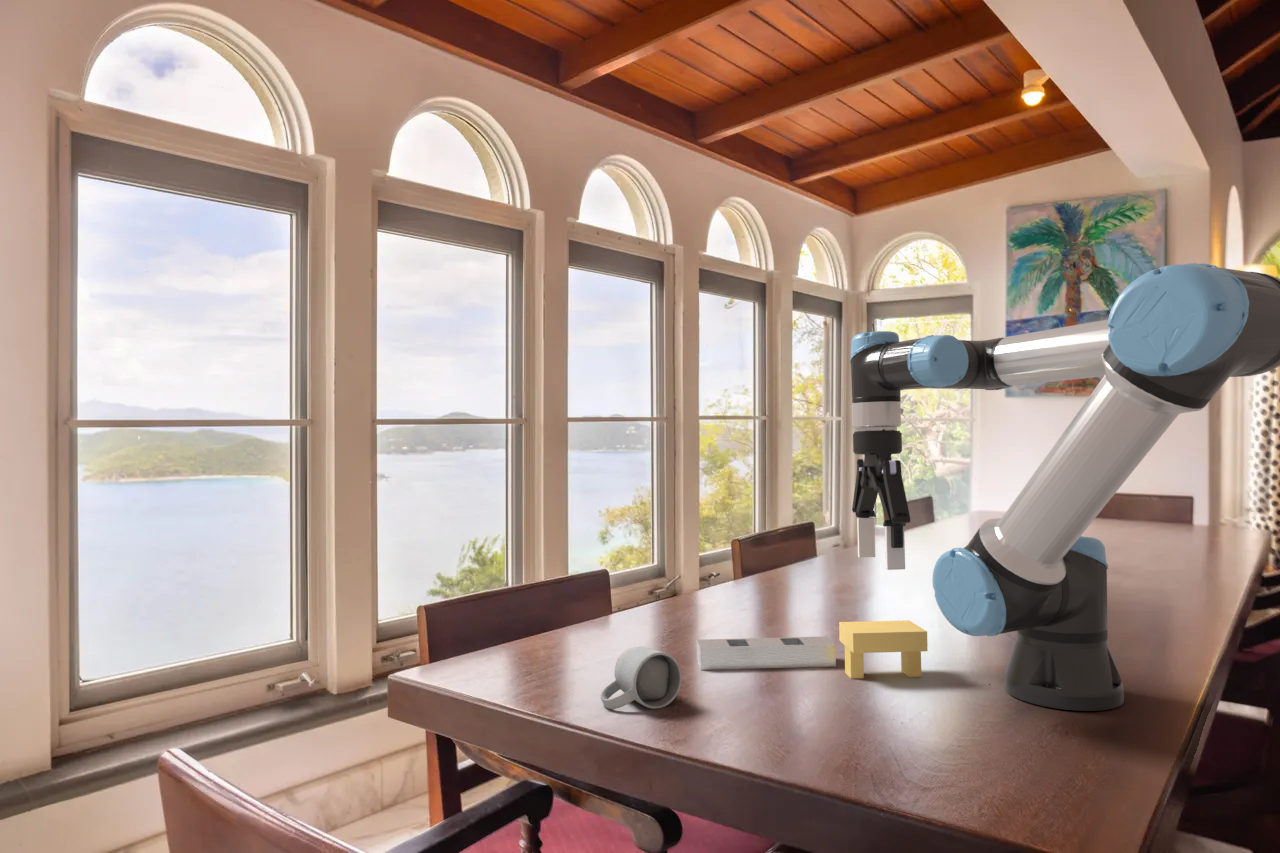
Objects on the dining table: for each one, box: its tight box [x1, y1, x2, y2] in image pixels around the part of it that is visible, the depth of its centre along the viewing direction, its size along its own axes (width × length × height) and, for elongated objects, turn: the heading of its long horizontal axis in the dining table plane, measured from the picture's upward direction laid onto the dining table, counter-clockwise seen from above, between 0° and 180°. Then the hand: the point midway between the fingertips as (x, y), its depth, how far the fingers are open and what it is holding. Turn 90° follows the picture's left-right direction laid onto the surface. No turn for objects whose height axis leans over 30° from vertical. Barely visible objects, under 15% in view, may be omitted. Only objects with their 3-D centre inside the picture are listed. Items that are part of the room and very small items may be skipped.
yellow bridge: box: [838, 619, 928, 680], centre depth 130 cm, size 8×11×8 cm, turn 92°
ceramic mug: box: [600, 646, 682, 710], centre depth 118 cm, size 11×8×8 cm
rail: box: [696, 636, 837, 671], centre depth 137 cm, size 6×22×4 cm, turn 92°
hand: (880, 563), depth 132 cm, fingers open, 13 cm apart
